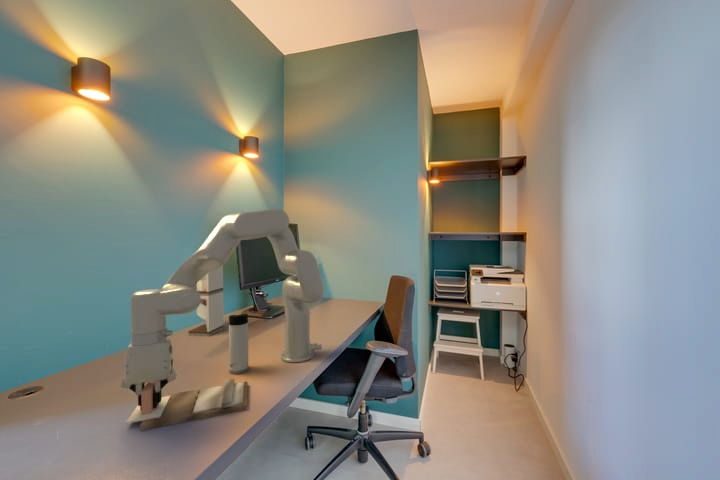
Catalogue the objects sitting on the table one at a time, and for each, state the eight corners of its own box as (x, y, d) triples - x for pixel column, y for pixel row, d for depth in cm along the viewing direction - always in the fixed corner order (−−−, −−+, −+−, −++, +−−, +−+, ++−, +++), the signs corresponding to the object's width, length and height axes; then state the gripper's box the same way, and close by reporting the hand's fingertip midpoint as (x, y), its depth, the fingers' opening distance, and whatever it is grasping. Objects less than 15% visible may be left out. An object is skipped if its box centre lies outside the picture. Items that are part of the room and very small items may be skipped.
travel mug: (229, 376, 97) (229, 317, 97) (228, 368, 103) (228, 312, 103) (249, 372, 100) (249, 314, 100) (247, 364, 106) (247, 310, 106)
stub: (170, 397, 83) (170, 374, 83) (160, 417, 73) (159, 392, 73) (141, 401, 80) (140, 378, 80) (126, 423, 71) (126, 397, 71)
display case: (204, 328, 150) (203, 260, 150) (223, 328, 149) (222, 260, 148) (188, 335, 139) (187, 262, 138) (208, 336, 137) (208, 262, 137)
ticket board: (247, 385, 92) (247, 376, 92) (246, 409, 78) (246, 399, 78) (157, 400, 83) (157, 390, 83) (140, 430, 70) (140, 419, 70)
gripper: (186, 329, 83) (187, 393, 83) (118, 336, 77) (119, 405, 77) (180, 337, 76) (181, 407, 76) (105, 346, 70) (106, 421, 70)
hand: (150, 405), depth 77 cm, fingers closed on stub, 2 cm apart
